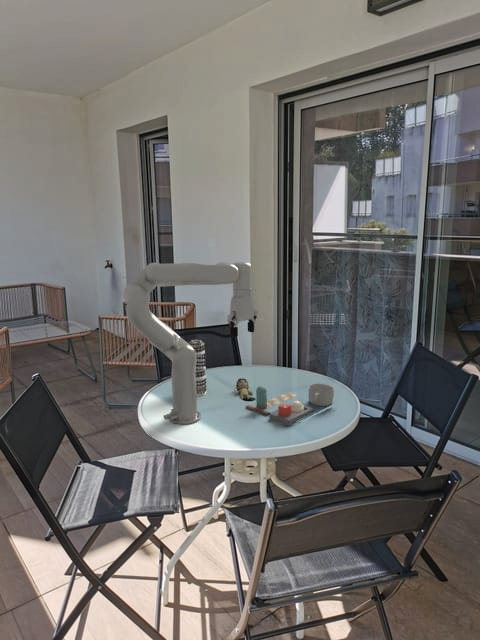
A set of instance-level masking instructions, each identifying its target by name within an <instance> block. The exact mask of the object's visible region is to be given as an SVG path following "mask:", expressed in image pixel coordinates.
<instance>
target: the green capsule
mask: <svg viewBox="0 0 480 640" xmlns="http://www.w3.org/2000/svg"><path fill="white" fill-rule="evenodd" d="M255 390H256V391H255V395H256V396H255V397H256V400H255V401H256V406H257V408H258V409H265V408H267V406H268V405H267V401H268V391H267V388H266V387H265V386H264V385H259V386H258V387H257V388H256V389H255ZM267 409H268V408H267ZM265 410H266V409H265Z"/></svg>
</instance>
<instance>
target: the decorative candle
mask: <svg viewBox="0 0 480 640" xmlns="http://www.w3.org/2000/svg"><path fill="white" fill-rule="evenodd" d="M187 343H188V344H190V345H191V346H192V347H193V348H194V350H195V352H196V370H195V375H196V397H201V396H202V395H203V396H205V395H206V394H207V390H208V389H207V387H208V386H207V377H206V369H207V367H206V366H207V363H206V362H207V360H206V359H207V356H206V355H207V352H206V351H205V342H203V341H202V340H201V339H191V340H189V341H188V342H187Z"/></svg>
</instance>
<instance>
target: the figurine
mask: <svg viewBox="0 0 480 640" xmlns="http://www.w3.org/2000/svg"><path fill="white" fill-rule="evenodd" d="M250 388H251V387H250V386H249V382H248V380H247V379H246V378H245V377H244V378H242V377H240V378H238V379H237V381H236V386H235V390H237V391H236V392H235V393H234V394H235V396H237V395H238V394H239V395H240V399H241V400H244V397H245V398H246V399H247V400H249V399H250V396H249V394H251V395H252V396H253V395H254V392H253V391H251V390H250Z"/></svg>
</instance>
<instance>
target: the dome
mask: <svg viewBox="0 0 480 640" xmlns="http://www.w3.org/2000/svg"><path fill="white" fill-rule="evenodd" d="M289 404H290V405H291V411H292V412H295V413H300V412H302V411H304V406H303V405H304V404H302V402H300V400H294V401H292V402H291V403H289Z"/></svg>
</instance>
